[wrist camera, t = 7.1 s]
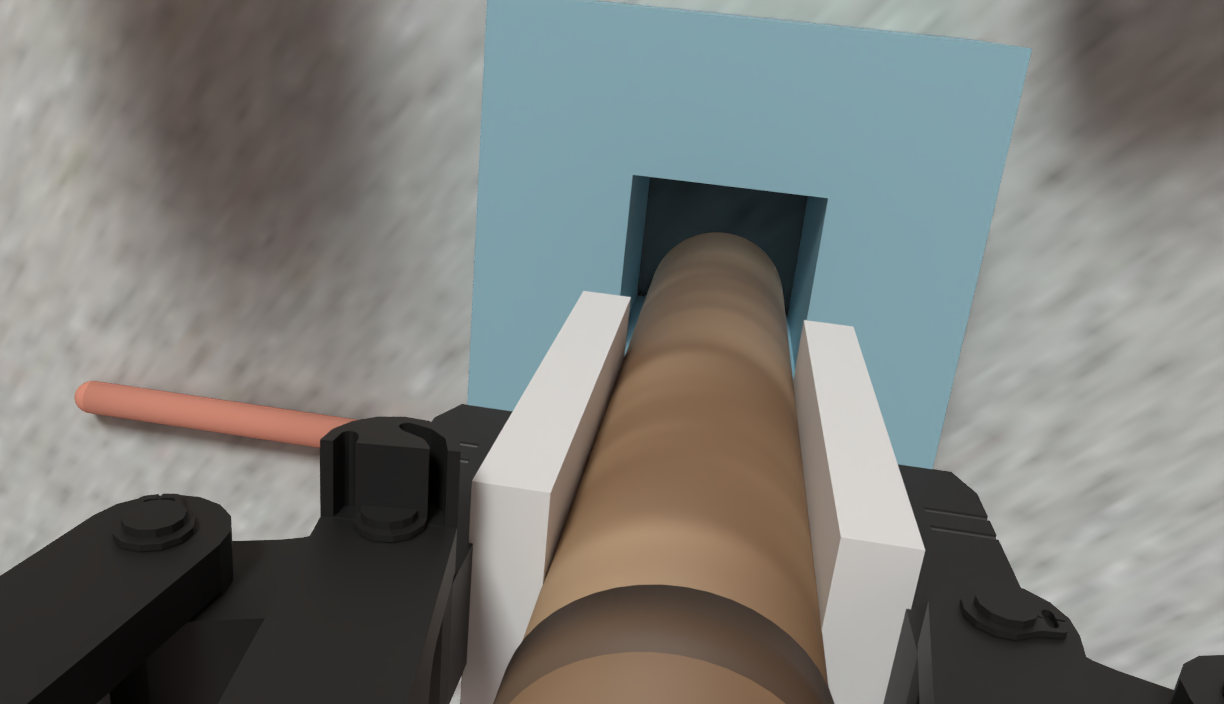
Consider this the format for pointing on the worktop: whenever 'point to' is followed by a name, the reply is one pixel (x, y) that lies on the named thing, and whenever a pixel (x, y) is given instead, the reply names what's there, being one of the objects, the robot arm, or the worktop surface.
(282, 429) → the salmon red rod
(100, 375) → the worktop surface
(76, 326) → the worktop surface
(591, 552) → the round wooden peg
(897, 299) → the blue square hole block
